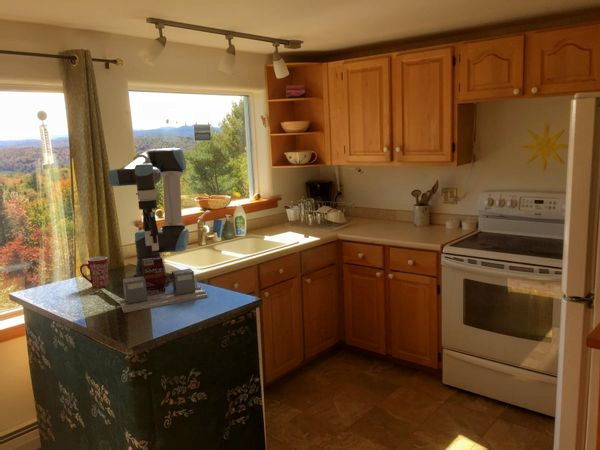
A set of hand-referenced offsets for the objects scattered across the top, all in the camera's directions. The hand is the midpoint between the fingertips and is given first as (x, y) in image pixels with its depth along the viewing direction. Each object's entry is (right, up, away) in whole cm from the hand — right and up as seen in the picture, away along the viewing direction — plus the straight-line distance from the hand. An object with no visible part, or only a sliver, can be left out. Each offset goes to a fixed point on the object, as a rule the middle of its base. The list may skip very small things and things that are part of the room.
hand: (152, 247), depth 221 cm
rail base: (+7, -22, -8) cm, 25 cm away
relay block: (+15, -19, +8) cm, 25 cm away
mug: (-33, -20, +20) cm, 43 cm away
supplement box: (0, -21, +3) cm, 21 cm away
